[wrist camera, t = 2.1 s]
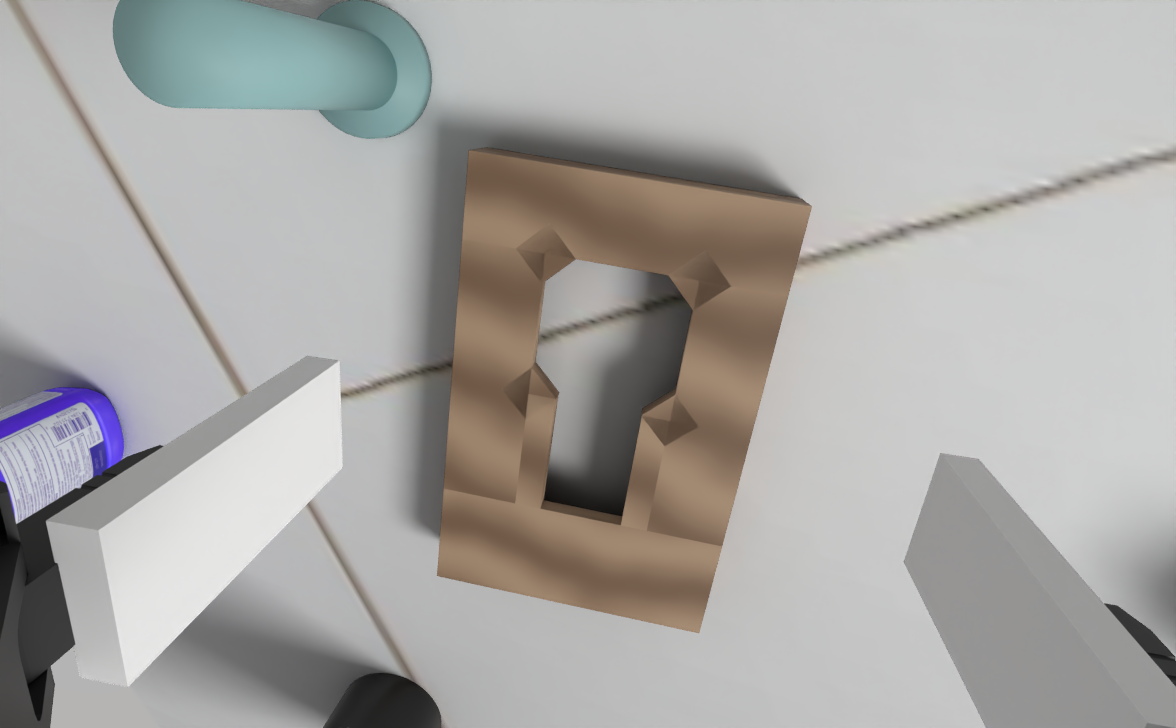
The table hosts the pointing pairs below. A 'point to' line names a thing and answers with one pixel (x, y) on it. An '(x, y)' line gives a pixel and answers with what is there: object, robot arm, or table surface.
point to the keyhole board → (668, 425)
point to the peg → (278, 60)
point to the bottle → (56, 445)
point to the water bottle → (385, 705)
